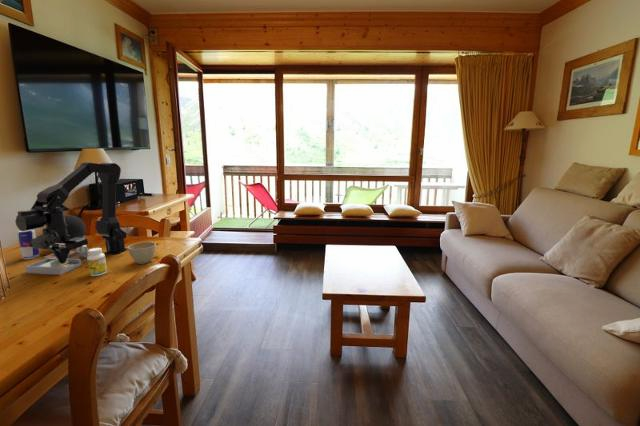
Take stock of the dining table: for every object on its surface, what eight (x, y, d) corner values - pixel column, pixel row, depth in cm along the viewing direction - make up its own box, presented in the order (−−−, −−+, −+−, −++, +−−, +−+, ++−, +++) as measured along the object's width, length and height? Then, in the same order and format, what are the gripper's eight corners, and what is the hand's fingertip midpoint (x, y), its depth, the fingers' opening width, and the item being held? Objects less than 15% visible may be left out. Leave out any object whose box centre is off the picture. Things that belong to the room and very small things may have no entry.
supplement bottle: (110, 271, 117) (107, 247, 115) (97, 277, 112) (93, 252, 110) (100, 269, 119) (96, 246, 116) (86, 275, 114) (82, 250, 111)
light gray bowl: (161, 261, 127) (159, 245, 126) (134, 268, 120) (132, 251, 119) (152, 255, 134) (150, 240, 132) (126, 261, 127) (124, 245, 125)
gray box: (81, 265, 123) (80, 259, 122) (60, 274, 114) (59, 268, 113) (49, 263, 124) (48, 257, 124) (26, 273, 115) (24, 266, 115)
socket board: (78, 256, 132) (77, 251, 131) (61, 263, 124) (60, 258, 123) (61, 256, 132) (60, 250, 132) (43, 263, 125) (42, 257, 124)
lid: (69, 262, 122) (68, 256, 121) (53, 269, 115) (51, 262, 114) (53, 261, 122) (52, 255, 122) (36, 268, 116) (35, 262, 115)
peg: (90, 256, 132) (88, 244, 131) (83, 259, 129) (81, 247, 127) (83, 256, 132) (80, 244, 131) (76, 259, 129) (73, 246, 128)
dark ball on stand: (76, 240, 153) (71, 211, 150) (95, 243, 149) (90, 213, 145) (45, 249, 141) (39, 217, 138) (65, 252, 137) (59, 220, 133)
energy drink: (29, 260, 127) (23, 232, 125) (19, 259, 129) (13, 231, 126) (43, 255, 133) (37, 229, 130) (33, 254, 134) (27, 228, 131)
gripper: (9, 229, 108) (19, 270, 111) (59, 230, 106) (67, 272, 110) (40, 221, 118) (48, 259, 122) (85, 222, 117) (92, 261, 120)
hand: (63, 263), depth 118 cm, fingers closed
